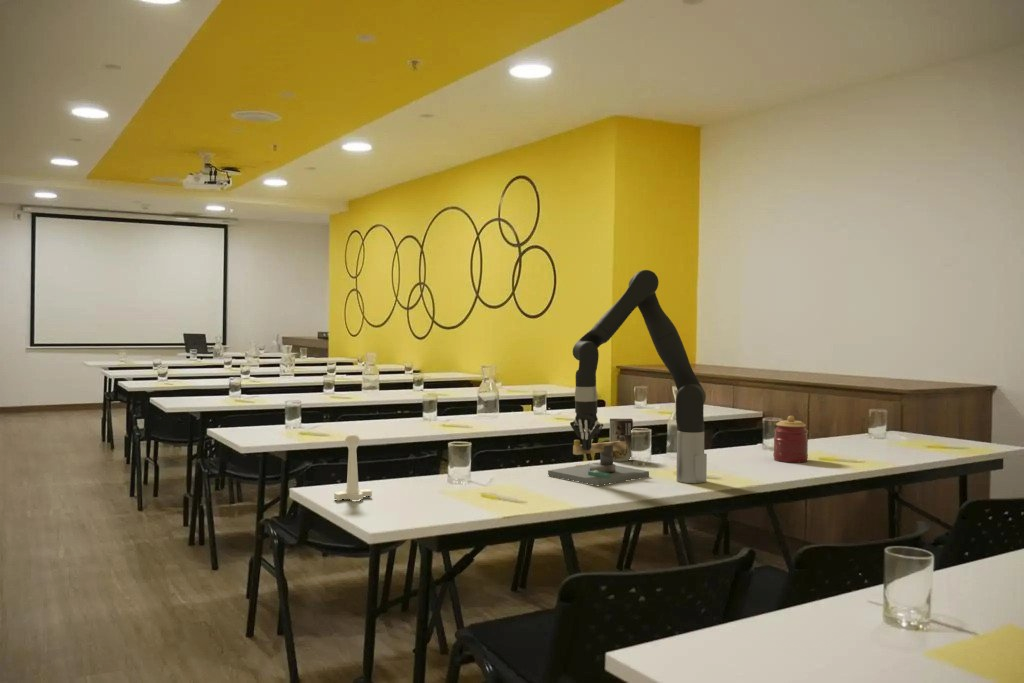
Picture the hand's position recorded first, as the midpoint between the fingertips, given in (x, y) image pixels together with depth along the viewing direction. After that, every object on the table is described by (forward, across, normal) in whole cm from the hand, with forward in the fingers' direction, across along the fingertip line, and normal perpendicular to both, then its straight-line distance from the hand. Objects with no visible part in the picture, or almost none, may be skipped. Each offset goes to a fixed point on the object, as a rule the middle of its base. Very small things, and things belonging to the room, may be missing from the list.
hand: (586, 450), depth 291 cm
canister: (+12, -34, -88) cm, 95 cm away
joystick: (+9, +35, +72) cm, 81 cm away
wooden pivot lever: (+8, +1, -8) cm, 12 cm away
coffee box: (+11, +16, -43) cm, 47 cm away
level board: (+11, +2, -9) cm, 14 cm away
